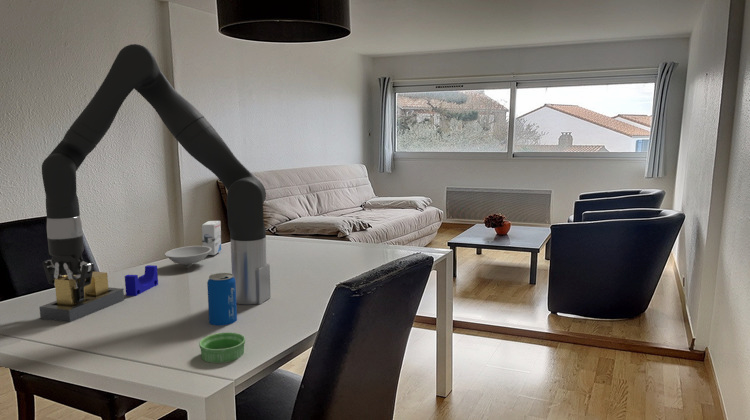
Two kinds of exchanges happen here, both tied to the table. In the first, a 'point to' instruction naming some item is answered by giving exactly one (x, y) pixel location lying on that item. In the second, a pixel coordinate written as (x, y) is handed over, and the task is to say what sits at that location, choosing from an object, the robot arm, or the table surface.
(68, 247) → the robot arm
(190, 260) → the dish
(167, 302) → the table surface
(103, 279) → the beige cube
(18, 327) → the table surface
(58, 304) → the wooden toy block
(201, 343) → the ramekin
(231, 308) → the beverage can
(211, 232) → the ink box
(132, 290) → the cable clip
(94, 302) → the grey flat open box
